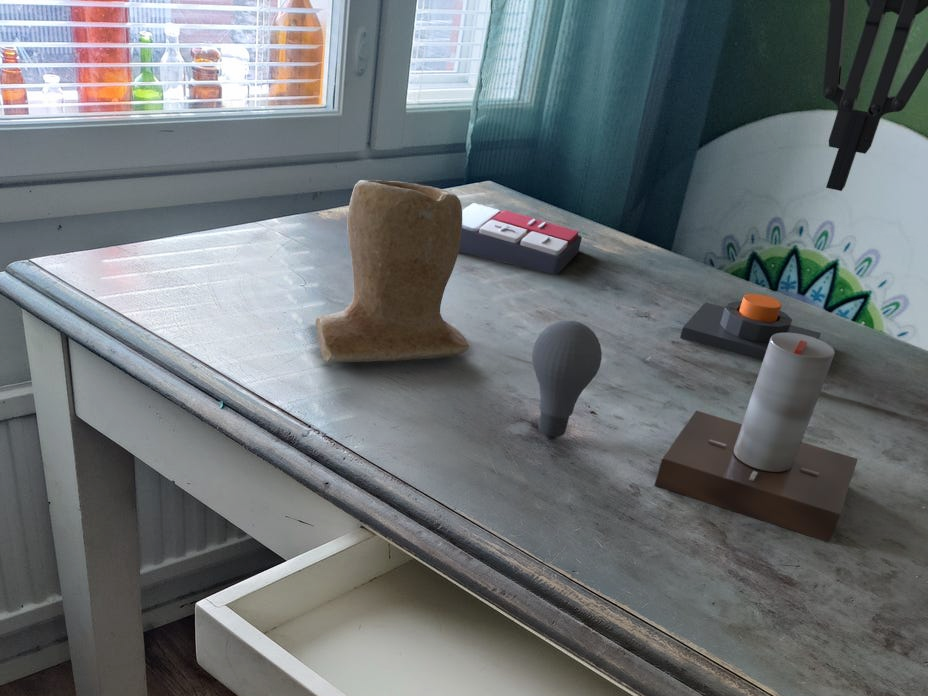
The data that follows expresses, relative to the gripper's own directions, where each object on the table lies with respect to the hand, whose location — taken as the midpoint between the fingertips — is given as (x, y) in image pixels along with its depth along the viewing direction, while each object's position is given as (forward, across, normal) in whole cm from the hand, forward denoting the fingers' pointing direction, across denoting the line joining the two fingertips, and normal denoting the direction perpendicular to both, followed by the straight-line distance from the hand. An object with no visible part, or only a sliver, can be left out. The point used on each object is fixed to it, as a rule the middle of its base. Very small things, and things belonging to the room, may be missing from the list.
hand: (835, 186), depth 96 cm
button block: (+17, -3, -1) cm, 17 cm away
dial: (+15, +3, -32) cm, 35 cm away
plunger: (+13, -3, -1) cm, 14 cm away
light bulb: (+17, -14, -35) cm, 41 cm away
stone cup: (+17, -34, -28) cm, 47 cm away
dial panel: (+17, +3, -32) cm, 36 cm away
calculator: (+17, -35, +8) cm, 40 cm away
